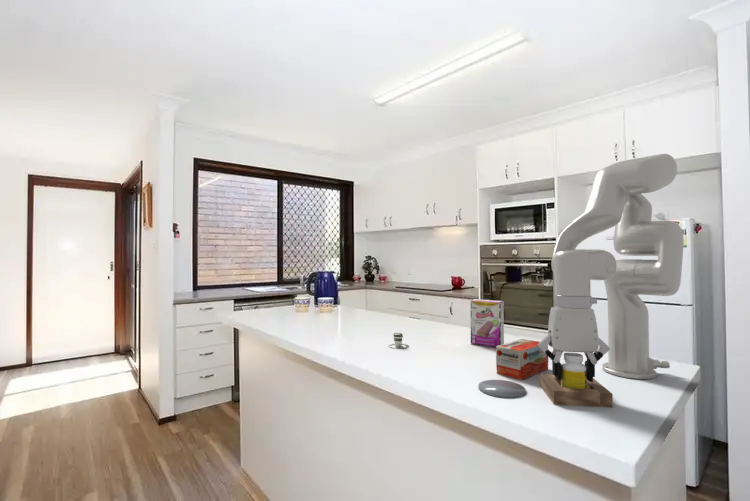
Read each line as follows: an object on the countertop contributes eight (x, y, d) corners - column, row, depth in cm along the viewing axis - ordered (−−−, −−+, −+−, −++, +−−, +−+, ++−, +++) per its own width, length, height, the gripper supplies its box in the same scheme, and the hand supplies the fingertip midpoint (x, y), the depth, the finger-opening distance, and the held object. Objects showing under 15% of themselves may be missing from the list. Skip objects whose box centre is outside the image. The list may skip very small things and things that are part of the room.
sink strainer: (419, 345, 142) (419, 332, 142) (404, 352, 132) (404, 338, 132) (391, 341, 148) (391, 328, 148) (375, 348, 138) (375, 334, 138)
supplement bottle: (590, 401, 87) (589, 358, 87) (564, 399, 88) (563, 356, 88) (582, 392, 92) (581, 352, 92) (558, 391, 93) (557, 351, 93)
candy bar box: (470, 344, 141) (469, 300, 141) (474, 341, 146) (473, 298, 146) (501, 348, 135) (500, 302, 136) (504, 345, 140) (504, 300, 140)
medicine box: (522, 363, 117) (522, 337, 117) (549, 369, 111) (548, 342, 111) (495, 374, 107) (495, 345, 107) (522, 381, 101) (522, 351, 101)
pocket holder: (591, 388, 95) (591, 376, 95) (612, 407, 83) (612, 393, 83) (540, 386, 97) (539, 374, 97) (553, 404, 85) (553, 390, 85)
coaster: (520, 383, 99) (520, 380, 99) (529, 399, 88) (529, 396, 88) (476, 381, 101) (476, 378, 101) (480, 396, 90) (480, 393, 90)
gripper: (605, 301, 92) (606, 375, 92) (530, 300, 95) (530, 372, 95) (619, 305, 85) (620, 386, 85) (537, 304, 88) (538, 382, 88)
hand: (573, 378), depth 90 cm, fingers open, 6 cm apart
